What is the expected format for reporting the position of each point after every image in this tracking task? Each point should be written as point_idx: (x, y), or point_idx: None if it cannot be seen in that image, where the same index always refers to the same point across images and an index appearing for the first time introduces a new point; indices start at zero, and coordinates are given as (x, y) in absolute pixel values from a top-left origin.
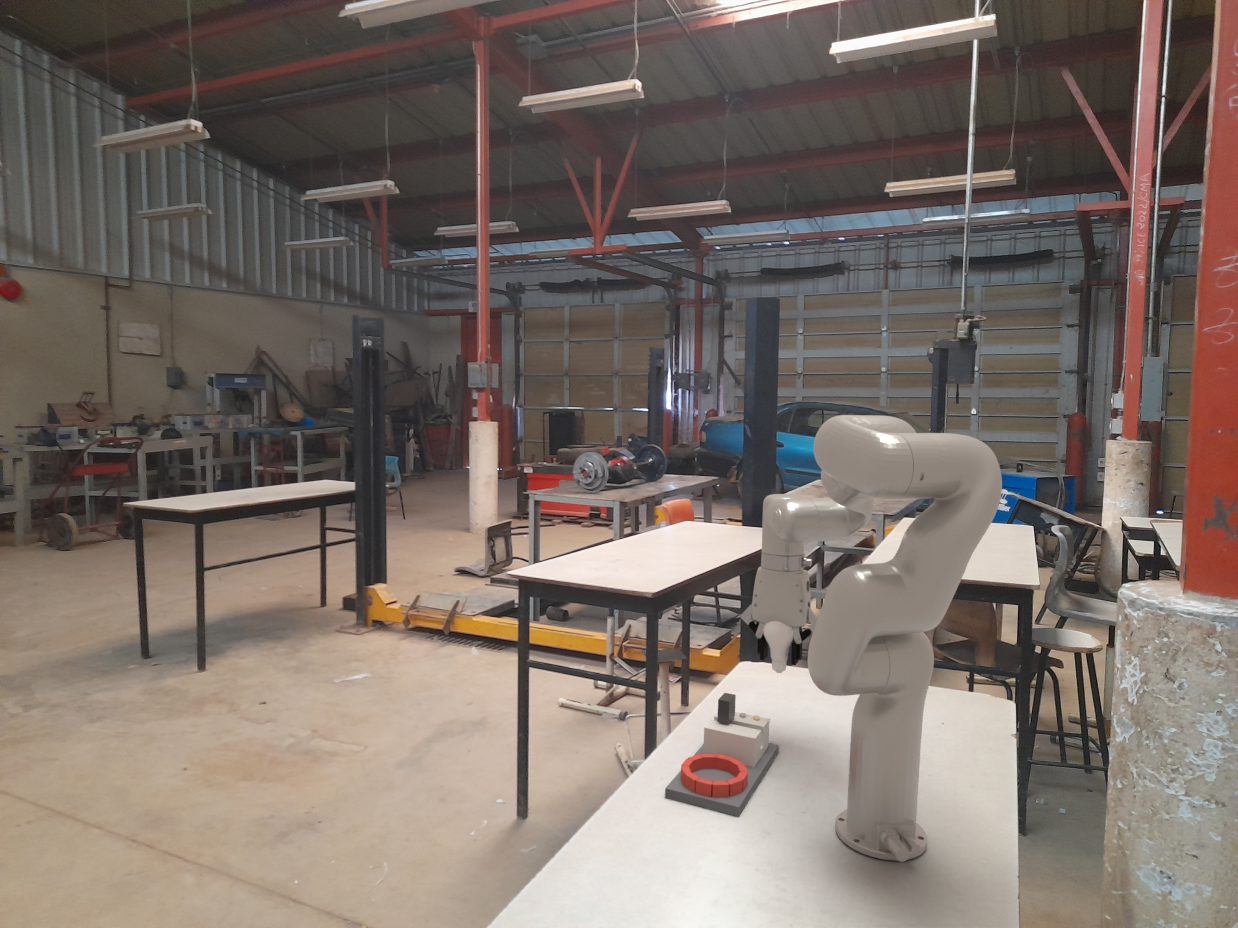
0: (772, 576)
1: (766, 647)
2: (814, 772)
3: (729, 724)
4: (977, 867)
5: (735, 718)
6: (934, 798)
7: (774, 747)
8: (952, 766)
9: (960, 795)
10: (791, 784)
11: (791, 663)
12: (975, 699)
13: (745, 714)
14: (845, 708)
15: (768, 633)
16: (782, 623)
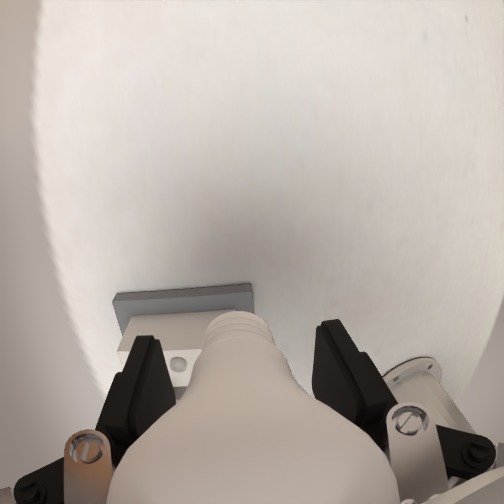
0: None
1: (157, 403)
2: (328, 315)
3: (176, 401)
4: (461, 374)
5: (171, 377)
6: (466, 285)
7: (248, 306)
8: (493, 177)
9: (489, 259)
10: (301, 365)
11: (313, 387)
12: None
13: (183, 364)
14: None
15: None
16: None
